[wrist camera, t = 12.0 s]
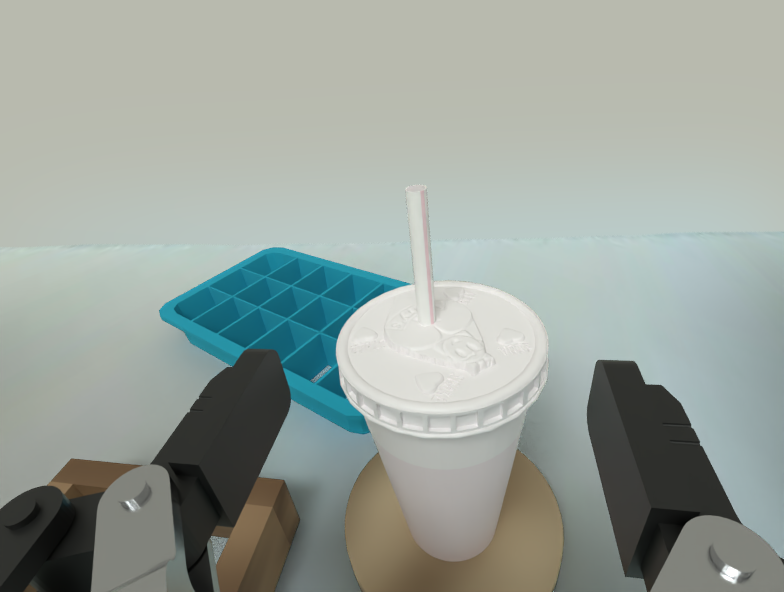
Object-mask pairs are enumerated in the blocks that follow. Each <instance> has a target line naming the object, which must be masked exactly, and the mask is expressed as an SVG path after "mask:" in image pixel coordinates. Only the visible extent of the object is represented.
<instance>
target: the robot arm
mask: <svg viewBox="0 0 784 592" xmlns="http://www.w3.org/2000/svg"><path fill="white" fill-rule="evenodd" d="M290 403H291V393H290V388H289V385H288V382H287V379H286V376H285V373H284V370H283V367H282V364H281V361H280V358H279V355H278V353H277V351H276V350H273V349H246V350H244V351H243V353H242V354H241V355H240V357H239V358H238V360H237V361H236V363H235V364H234V366H233V367H227V368H225V369H224V370H223V371H222V372H220V373H219V374H218V375H217V376H215V377H214V378H213V379H212V380H210V382H209V383H208V385H207V386H206V387H205V389H204V390H203V392H202V393H201V394H200V396H199V399H197V400H196V401H195V403H194V404H193V406H192V407H191V408H190V412H188V413H187V414H186V415H185V417H184V418H183V419H182V421H181V422H180V424H179V425H178V426H177V428H176V429H175V431H174V432H173V433H172V435H171V436H170V438H169V439H168V440H167V442H166V443H165V445H164V446H163V447H162V449H161V450H160V452H159V453H158V454H157V456H156V457H155V459H154V460H153V461H152V463H151V464H150V465H144V466H140V467H137V468H135V469H132V470H130V471H128V472H127V473H125V474H123V475H122V476H121V477H119V478H118V479H117V480H116V481H114V482H113V483H112V484H111V485H110V486H109V487H108V489H107V490H106V491H104V492H100V493H95V494H91V495H86V496H82V497H77V498H72V499H68V498H67V497H66V496H65V495H64V494H63V492H62V491H61V490H60V489H59V488H57V487H55V486H41V487H37V488H34V489H31V490H29V491H26V492H24V493H22V494H21V495H19V496H17V497H16V498H14V499H12V500H11V501H10V502H8V503H7V504H6V505H5V506H4V507H2V508H1V509H0V592H24V590H25V589H26V587H27V586H28V585H29V584H30V585H31V586H32V587H33V588H35V589H36V590H37V592H220V589H219V583H218V576H217V570H216V564H215V558H214V551H213V546H212V542H211V540H210V537H211V535H212V533H213V531H214V529H215V527H216V526H223V527H231V528H234V527H235V525H236V523H237V521H238V518H239V516H240V514H241V512H242V510H243V508H244V506H245V503H246V501H247V499H248V497H249V495H250V493H251V491H252V489H253V486H254V484H255V482H256V480H257V478H258V476H259V474H260V472H261V469H262V467H263V465H264V463H265V461H266V459H267V457H268V454H269V452H270V450H271V448H272V446H273V444H274V442H275V440H276V437H277V435H278V433H279V431H280V429H281V427H282V425H283V422H284V420H285V418H286V416H287V414H288V411H289V408H290ZM587 423H588V430H589V435H590V439H591V443H592V447H593V451H594V455H595V459H596V463H597V467H598V471H599V475H600V479H601V483H602V487H603V491H604V495H605V499H606V503H607V507H608V510H609V514H610V518H611V522H612V526H613V530H614V534H615V538H616V542H617V546H618V550H619V554H620V558H621V562H622V566H623V570H624V574H625V577H633V578H641V579H644V581H645V585H646V589H647V592H784V559H782V558H780V557H779V556H778V555H777V553H776V552H775V551H774V550H773V549H772V548H771V546H770V545H769V544H768V543H767V542H766V541H764V540H763V539H762V538H761V537H760V536H759V535H757V534H756V533H755V532H753V531H752V530H750V529H749V528H747V527H745V526H743V524H742V523H741V522H740V520H739V518H738V517H737V515H736V513H735V511H734V509H733V507H732V505H731V503H730V501H729V499H728V497H727V495H726V493H725V491H724V489H723V487H722V485H721V483H720V481H719V479H718V477H717V475H716V473H715V471H714V469H713V467H712V465H711V463H710V461H709V459H708V457H707V455H706V453H705V451H704V449H703V447H702V446H700V441H699V439H698V437H697V435H696V433H695V431H694V429H693V428H691V423H690V421H689V419H688V417H687V415H686V413H685V411H684V409H683V407H682V405H681V403H680V402H679V401H678V400H677V399H676V398H675V397H673V396H672V395H671V394H670V393H669V392H668V391H667V390H666V389H665V388H664V387H663V386H662V385H646V384H645V382H644V380H643V377H642V375H641V373H640V370H639V368H638V366H637V364H636V363H635V362H634V361H618V360H598V361H597V362H596V365H595V370H594V375H593V380H592V385H591V390H590V395H589V401H588V406H587Z"/></svg>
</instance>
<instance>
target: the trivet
mask: <svg viewBox="0 0 784 592" xmlns="http://www.w3.org/2000/svg"><path fill="white" fill-rule="evenodd" d="M345 539H346V546H347V551H348V555H349V558H350V562H351V565H352V568H353V571H354V574H355V577H356V580H357V582H358V584H359V586H360V589H361V591H362V592H553V590H554V588H555V585H556V582H557V578H558V574H559V570H560V565H561V560H562V554H563V545H564V538H563V524H562V518H561V513H560V510H559V507H558V504H557V501H556V498H555V496H554V494H553V492H552V490H551V488H550V486H549V484H548V483H547V481H546V479H545V478H544V476H543V475H542V474H541V472H540V471H539V470H538V469H537V467H536V466H535V465H534V464H533V463H532V462H531V461H530V460H529V459H528V458H527V457H526V456H525V455H523V454H522V453H521V452H520V451H519V450H516V454H515V458H514V462H513V466H512V469H511V473H510V477H509V481H508V485H507V488H506V492H505V496H504V500H503V504H502V507H501V511H500V515H499V519H498V523H497V527H496V530H495V534H494V536H493V539H492V541H491V542H490V544H489V545H488V546H487V548H486V549H485V550H484V551H483V552H481V553H480V554H479V555H477V556H475V557H473V558H471V559H468V560H465V561H458V562H450V561H444V560H440V559H437V558H435V557H433V556H431V555H429V554H428V553H426V552H425V551H424V550H423V549H421V548H420V546H419V545H418V544H417V543H416V542H415V540H414V538H413V537H412V535H411V532H410V530H409V527H408V525H407V522H406V520H405V517H404V515H403V512H402V510H401V507H400V505H399V502H398V500H397V497H396V495H395V492H394V490H393V487H392V485H391V482H390V480H389V477H388V475H387V472H386V470H385V467H384V465H383V462H382V460H381V457H380V455H379V452H378V453H377V454H376V455H375V456H374V457H373V458H372V459H371V460H370V461H369V462H368V464H367V465H366V466H365V468H364V469H363V470H362V472H361V473H360V475H359V477H358V478H357V480H356V482H355V484H354V486H353V489H352V491H351V494H350V496H349V500H348V504H347V508H346V516H345Z"/></svg>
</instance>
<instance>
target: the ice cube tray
mask: <svg viewBox="0 0 784 592" xmlns="http://www.w3.org/2000/svg"><path fill="white" fill-rule="evenodd" d="M407 285H411V284H409V283H406V282H402V281H399V280H395V279H391V278H388V277H384V276H381V275H377V274H374V273H370V272H367V271H363V270H360V269H356V268H353V267H349V266H346V265H342V264H339V263H335V262H332V261H328V260H325V259H321V258H318V257H314V256H311V255H307V254H304V253H300V252H296V251H293V250H289V249H286V248H269V249H265V250H262V251H260V252H259V253H257V254H255V255H253V256H251V257H249V258H248V259H246V260H244V261H242V262H240V263H239V264H237V265H235V266H233V267H231V268H229V269H228V270H226V271H224V272H222V273H220V274H218V275H217V276H215V277H213V278H211V279H209V280H207V281H206V282H204V283H202V284H200V285H198V286H197V287H195V288H193V289H191V290H189V291H187V292H186V293H184V294H182V295H180V296H178V297H176V298H175V299H173V300H171V301H169V302H167V303H165V305H164V306H163V307H162V308H161V309H160V310H159V312H160V317H161V319H162V320H163V321H165V322H167V323H169V324H171V325H172V326H174V327H176V328H178V329H180V330H182V331H184V332H185V334H186V336H187V338H188V339H189V341H190V343H191V344H193V345H195V346H197V347H199V348H200V349H202V350H204V351H206V352H207V353H209V354H211V355H213V356H215V357H216V358H218V359H220V360H222V361H224V362H225V363H227V364H229V365H231V366H234V364H235V363H236V361H237V360H238V358H239V357H240V355H241V354H242V353H243V351H244V350H246V349H273V350H276V351H277V353H278V355H279V358H280V361H281V364H282V367H283V370H284V373H285V376H286V379H287V382H288V385H289V388H290V393H291V399H292V400H294V401H295V402H297V403H299V404H301V405H302V406H304V407H306V408H308V409H310V410H311V411H313V412H315V413H317V414H319V415H320V416H322V417H324V418H326V419H328V420H329V421H331V422H333V423H335V424H337V425H338V426H340V427H342V428H344V429H346V430H347V431H349V432H353V433H359V434H366V433H369V432H370V430H369V428H368V426H367V423H366V420H365V418H364V415H362V414H361V413H360V412H359V411H358V410H357V409H356V408H355V407H353V406H352V405H351V404H350V402H349V400H348V399H346V398H347V396H346V395H345V393H344V391H343V389H342V387H341V384H340V376H339V367H338V362H337V357H336V344H337V340H338V336H339V334H340V331H341V329H342V328H343V326H344V324H345V323H346V322H347V320H348V319H349V318H350V317H351V316H352V315H353V314H354V313H355V312H356V311H357V310H358V309H359V308H360V307H362V306H363V305H365V304H366V303H367V302H369V301H370V300H372V299H374V298H376V297H378V296H380V295H381V294H383V293H386V292H388V291H391V290H394V289H396V288H399V287H403V286H407ZM328 365H329V366H331V367H332V368H331V369H330V370H329V371H328V372H326V373H325V374H324V375H323V376H322V377H321V378H320V379H319V380H317V381H316V382H315V383H313V382H311V381H310V380H312V379H313V378H314V377H315V376H316V375H317V374H318V373H320V372H321V371H322V370H323V369H324V368H325V367H326V366H328Z"/></svg>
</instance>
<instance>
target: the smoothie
mask: <svg viewBox="0 0 784 592" xmlns="http://www.w3.org/2000/svg"><path fill="white" fill-rule="evenodd" d="M405 193H406V202H407V213H408V223H409V233H410V243H411V253H412V263H413V273H414V283H415V284H411V285H407V286H403V287H399V288H396V289H394V290H391V291H388V292H386V293H383V294H381V295H380V296H378V297H376V298H374V299H372V300H370V301H369V302H367V303H366V304H365V305H363V306H362V307H360V308H359V309H358V310H357V311H356V312H355V313H354V314H353V315H352V316H351V317H350V318H349V319H348V320H347V322H346V323H345V324H344V326H343V328H342V329H341V331H340V334H339V336H338V340H337V344H336V357H337V362H338V367H339V376H340V384H341V387H342V389H343V391H344V393H345V395H346V396H347V398H348V400H349V402H350V404H351V405H352V406H353V407H355V408H356V409H357V410H358V411H359V412H360V413H361V414H362V415H364V418H365V420H366V423H367V426H368V428H369V430H370V432H371V435H372V437H373V440H374V442H375V445H376V447H377V450H378V452H379V455H380V457H381V460H382V462H383V465H384V467H385V470H386V472H387V475H388V477H389V480H390V482H391V485H392V487H393V490H394V492H395V495H396V497H397V500H398V502H399V505H400V507H401V510H402V512H403V515H404V517H405V520H406V522H407V525H408V527H409V530H410V532H411V535H412V537H413V538H414V540H415V542H416V543H417V544H418V545H419V546H420V548H421V549H423V550H424V551H425V552H426V553H428V554H429V555H431V556H433V557H435V558H437V559H440V560H444V561H450V562H458V561H465V560H468V559H471V558H473V557H475V556H477V555H479V554H480V553H481V552H483V551H484V550H485V549H486V548H487V546H488V545H489V544H490V542H491V541H492V539H493V536H494V534H495V530H496V527H497V523H498V519H499V515H500V511H501V507H502V504H503V500H504V496H505V492H506V488H507V485H508V481H509V477H510V473H511V469H512V466H513V462H514V458H515V454H516V450H517V447H518V443H519V439H520V435H521V431H522V427H523V425H524V421H525V418H526V414H527V409H528V408H529V407H530V406H531V405H532V404H533V403H535V402H536V401H537V399H538V397H539V395H540V393H541V391H542V390H543V388H544V386H545V384H546V382H547V378H548V366H549V359H548V356H547V355H548V336H547V332H546V329H545V326H544V325H543V323H542V321H541V319H540V318H539V317H538V315H537V314H536V313H535V312H534V311H533V310H532V309H531V308H530V307H529V306H528V305H526V304H525V303H524V302H522V301H521V300H519V299H518V298H516V297H514V296H513V295H511V294H509V293H506V292H504V291H502V290H499V289H497V288H493V287H490V286H487V285H483V284H478V283H472V282H466V281H451V280H445V281H433V269H432V255H431V241H430V228H429V215H428V202H427V187H426V186H424V185H412V186H409V187H407V188H406V189H405Z"/></svg>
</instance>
